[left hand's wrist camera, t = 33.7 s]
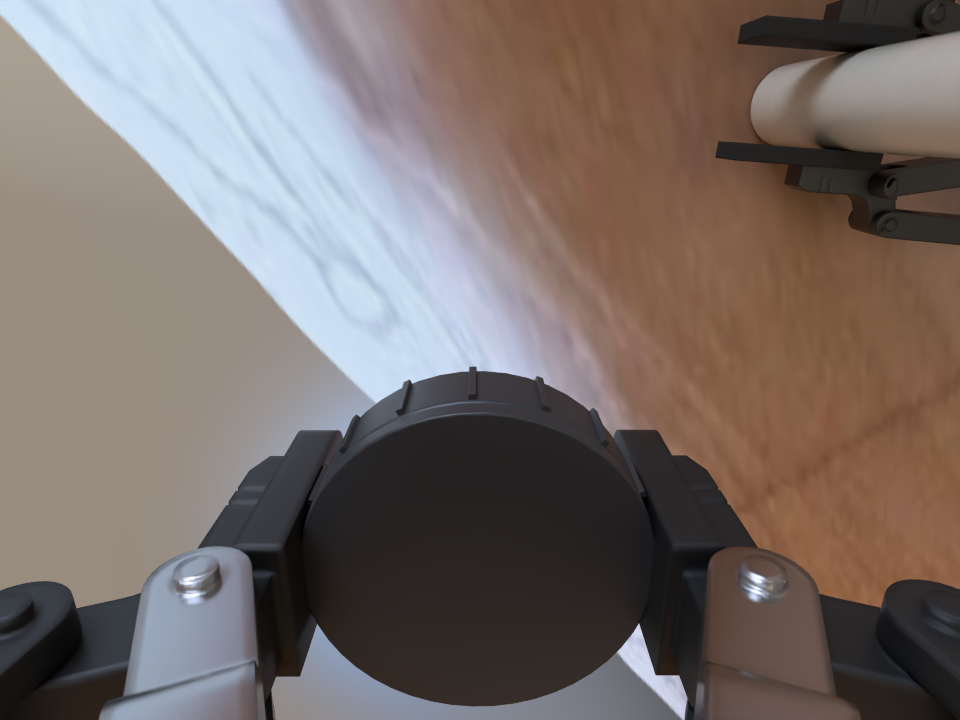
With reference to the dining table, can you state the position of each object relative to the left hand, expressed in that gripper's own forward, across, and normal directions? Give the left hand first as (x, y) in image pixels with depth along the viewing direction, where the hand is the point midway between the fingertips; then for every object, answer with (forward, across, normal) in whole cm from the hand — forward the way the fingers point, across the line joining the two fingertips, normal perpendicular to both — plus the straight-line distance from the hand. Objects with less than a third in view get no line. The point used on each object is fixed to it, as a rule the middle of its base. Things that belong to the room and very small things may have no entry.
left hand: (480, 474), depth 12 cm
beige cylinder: (+27, +17, +7) cm, 33 cm away
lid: (-3, 0, 0) cm, 3 cm away
